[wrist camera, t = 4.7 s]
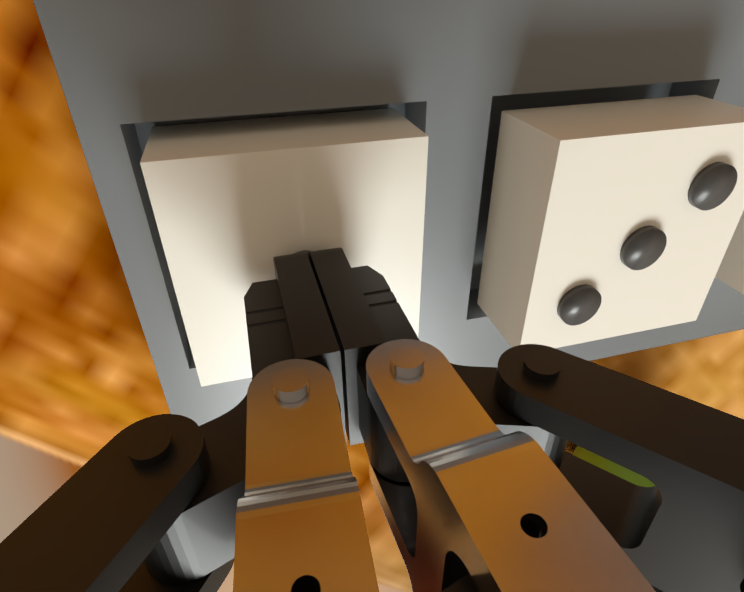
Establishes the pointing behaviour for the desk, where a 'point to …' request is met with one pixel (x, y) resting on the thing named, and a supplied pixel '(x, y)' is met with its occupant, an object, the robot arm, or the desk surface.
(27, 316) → the desk surface
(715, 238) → the tile three dots
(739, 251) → the tile two dots
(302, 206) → the tile one dot
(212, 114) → the socket board
